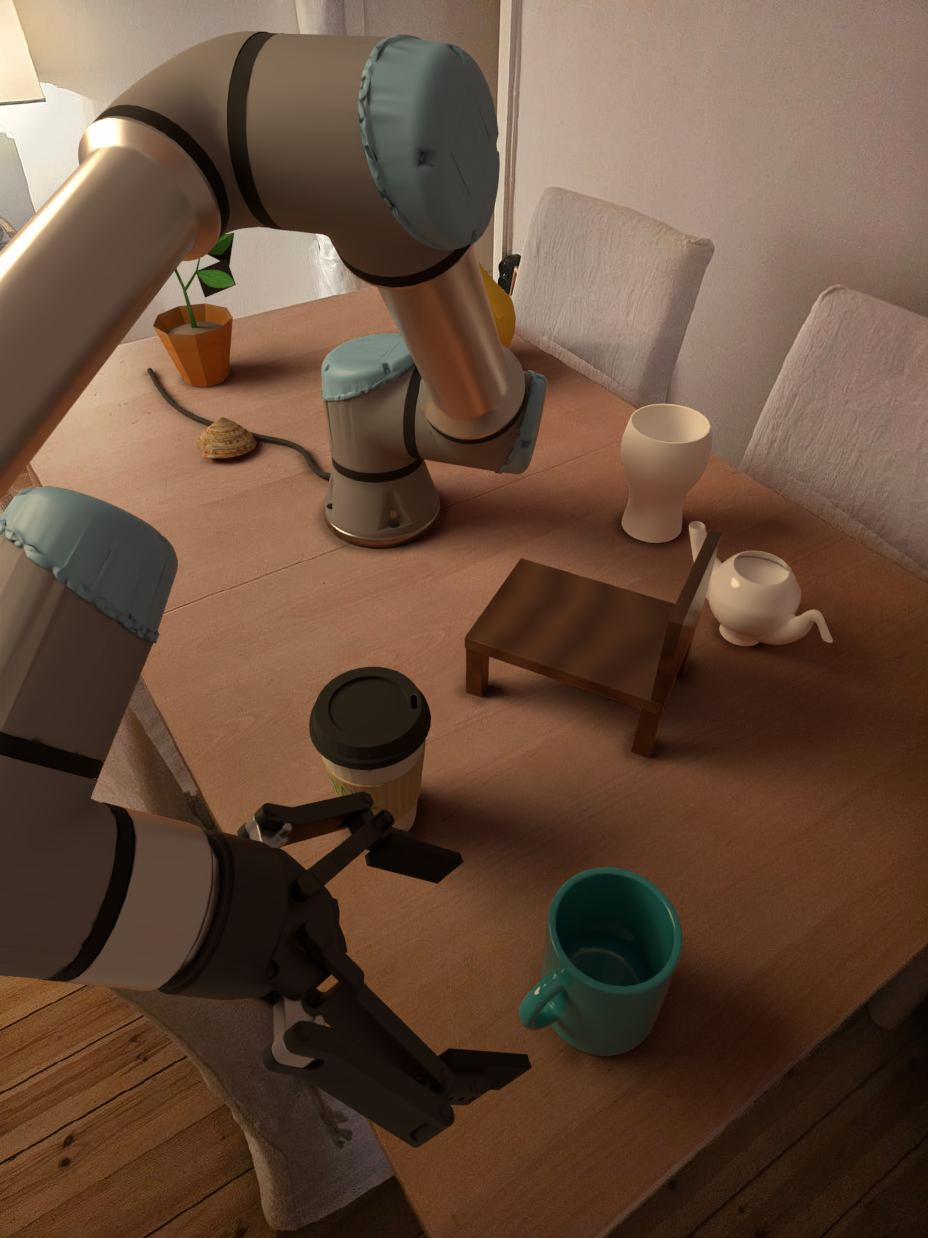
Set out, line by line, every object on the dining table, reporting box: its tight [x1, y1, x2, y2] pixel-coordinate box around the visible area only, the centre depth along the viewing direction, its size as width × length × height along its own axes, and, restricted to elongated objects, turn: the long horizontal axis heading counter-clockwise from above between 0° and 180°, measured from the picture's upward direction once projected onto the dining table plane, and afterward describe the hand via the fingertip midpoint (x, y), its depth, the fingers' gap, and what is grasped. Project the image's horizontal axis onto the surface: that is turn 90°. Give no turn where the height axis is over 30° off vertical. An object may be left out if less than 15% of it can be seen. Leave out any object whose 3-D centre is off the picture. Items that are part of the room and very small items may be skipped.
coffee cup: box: [308, 666, 432, 832], centre depth 70 cm, size 10×10×15 cm
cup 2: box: [619, 403, 713, 544], centre depth 102 cm, size 11×11×15 cm
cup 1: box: [517, 866, 684, 1057], centre depth 59 cm, size 9×12×11 cm
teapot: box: [688, 520, 834, 647], centre depth 89 cm, size 10×20×9 cm, turn 34°
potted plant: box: [152, 232, 237, 388], centre depth 129 cm, size 18×19×30 cm
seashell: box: [194, 416, 258, 459], centre depth 121 cm, size 8×6×8 cm
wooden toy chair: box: [464, 528, 723, 759], centre depth 81 cm, size 20×14×18 cm
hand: (478, 961), depth 52 cm, fingers open, 13 cm apart
